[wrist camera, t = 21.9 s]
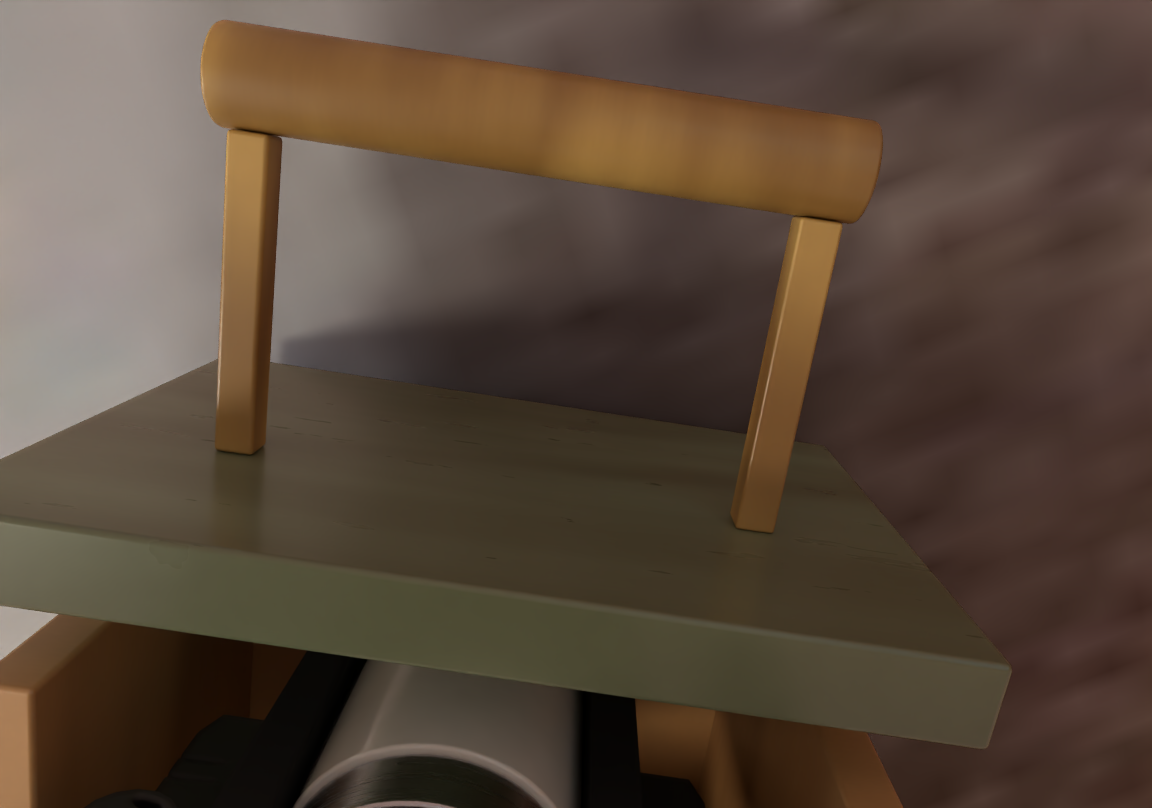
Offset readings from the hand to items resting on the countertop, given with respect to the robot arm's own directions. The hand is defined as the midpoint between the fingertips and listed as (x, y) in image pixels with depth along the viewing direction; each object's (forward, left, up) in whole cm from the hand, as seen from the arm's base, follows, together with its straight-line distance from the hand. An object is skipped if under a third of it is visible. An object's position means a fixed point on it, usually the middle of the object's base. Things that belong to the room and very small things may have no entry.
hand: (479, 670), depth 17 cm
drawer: (-2, +1, -2) cm, 3 cm away
